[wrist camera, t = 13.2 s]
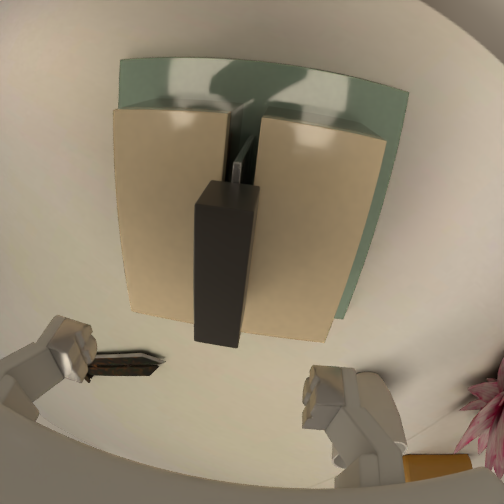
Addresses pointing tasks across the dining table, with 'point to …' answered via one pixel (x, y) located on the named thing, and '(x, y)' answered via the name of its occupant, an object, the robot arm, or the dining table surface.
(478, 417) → the decorative flower
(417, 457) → the bread
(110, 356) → the knife
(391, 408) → the cup
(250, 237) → the metal bench scraper
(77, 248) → the dining table surface
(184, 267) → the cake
